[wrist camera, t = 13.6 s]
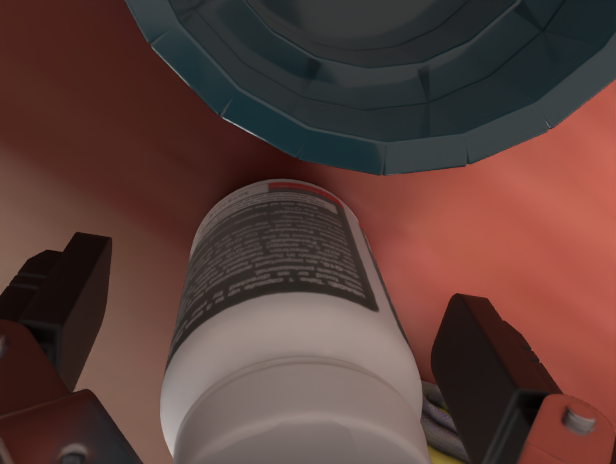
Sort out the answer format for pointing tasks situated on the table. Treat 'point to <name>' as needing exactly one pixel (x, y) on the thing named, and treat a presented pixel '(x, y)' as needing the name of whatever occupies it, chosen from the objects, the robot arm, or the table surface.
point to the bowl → (387, 72)
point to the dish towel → (440, 428)
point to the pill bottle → (288, 340)
